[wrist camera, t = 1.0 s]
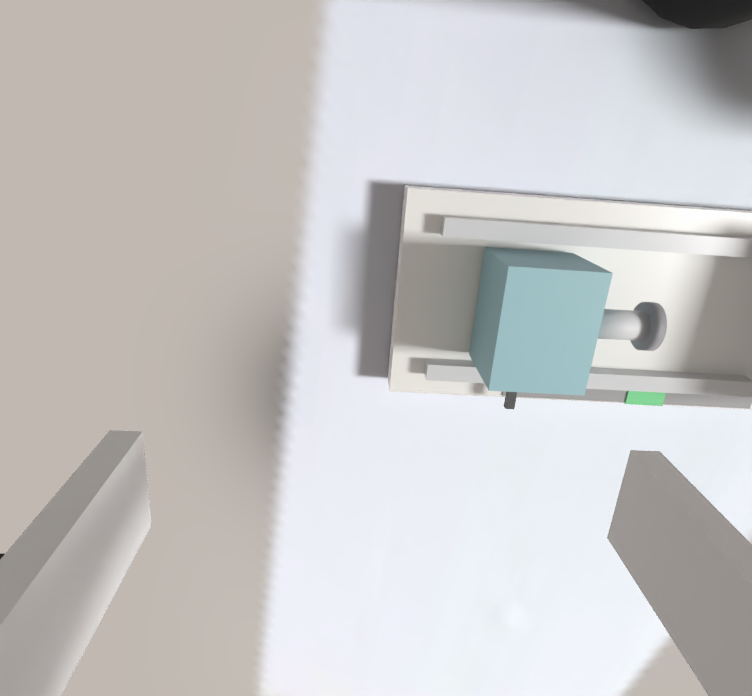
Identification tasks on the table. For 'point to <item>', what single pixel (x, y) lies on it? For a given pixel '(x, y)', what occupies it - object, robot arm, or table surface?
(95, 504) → the robot arm
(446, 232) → the board
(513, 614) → the table surface
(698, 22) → the coffee jar
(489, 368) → the gauge slider
